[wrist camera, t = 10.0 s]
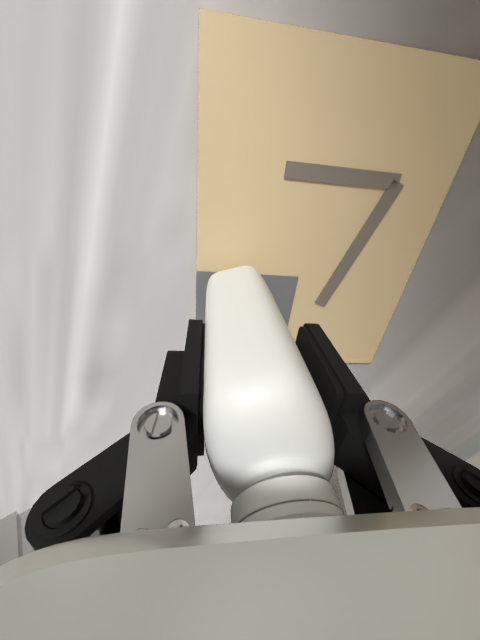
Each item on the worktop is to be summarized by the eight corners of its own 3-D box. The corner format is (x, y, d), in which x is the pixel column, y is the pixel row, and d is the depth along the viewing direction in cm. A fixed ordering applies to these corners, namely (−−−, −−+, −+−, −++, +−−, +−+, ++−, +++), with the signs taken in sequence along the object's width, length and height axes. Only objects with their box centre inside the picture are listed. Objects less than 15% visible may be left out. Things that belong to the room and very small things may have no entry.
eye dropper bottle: (189, 350, 14) (135, 841, 4) (214, 252, 11) (252, 966, 1) (263, 363, 15) (376, 778, 5) (301, 276, 13) (721, 775, 2)
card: (199, 13, 8) (198, 5, 8) (497, 67, 10) (507, 63, 9) (196, 357, 15) (195, 362, 15) (368, 360, 17) (371, 364, 16)
